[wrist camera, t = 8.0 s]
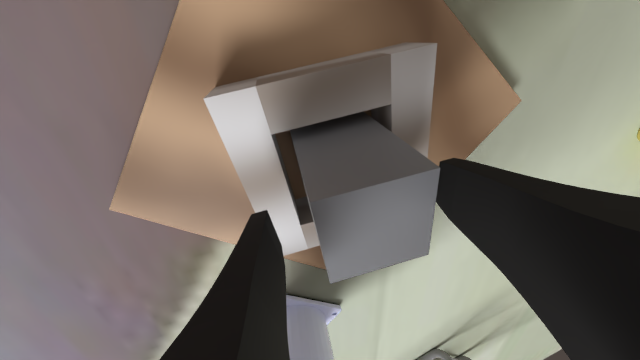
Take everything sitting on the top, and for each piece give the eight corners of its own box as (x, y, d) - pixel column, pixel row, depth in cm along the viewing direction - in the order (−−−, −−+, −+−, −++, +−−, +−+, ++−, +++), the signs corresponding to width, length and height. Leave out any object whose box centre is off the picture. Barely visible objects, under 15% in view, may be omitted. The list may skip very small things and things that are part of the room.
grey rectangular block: (363, 169, 15) (428, 254, 9) (303, 185, 14) (330, 283, 9) (359, 108, 13) (440, 167, 7) (288, 125, 12) (309, 202, 6)
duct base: (348, 267, 21) (361, 303, 18) (118, 199, 14) (78, 243, 11) (507, 97, 15) (564, 110, 12) (259, -205, 8) (256, -360, 5)
